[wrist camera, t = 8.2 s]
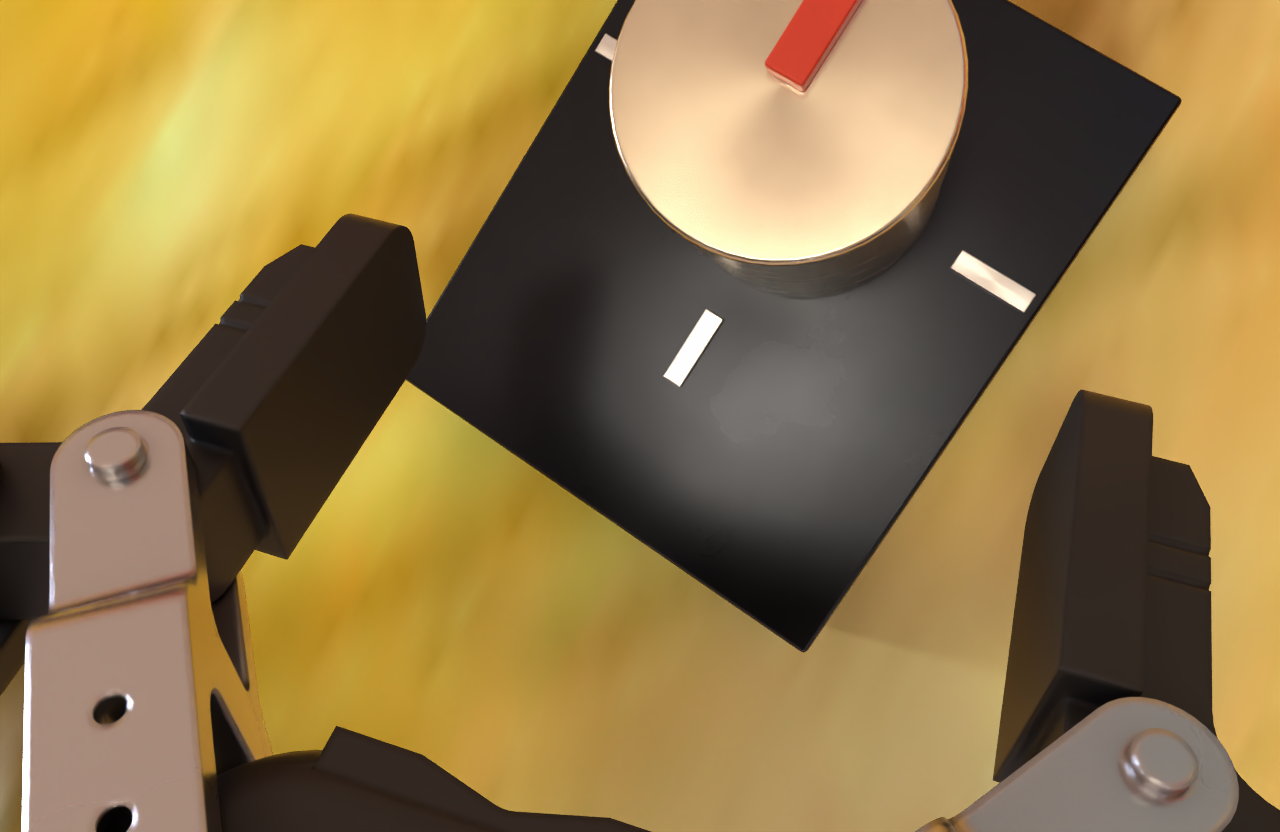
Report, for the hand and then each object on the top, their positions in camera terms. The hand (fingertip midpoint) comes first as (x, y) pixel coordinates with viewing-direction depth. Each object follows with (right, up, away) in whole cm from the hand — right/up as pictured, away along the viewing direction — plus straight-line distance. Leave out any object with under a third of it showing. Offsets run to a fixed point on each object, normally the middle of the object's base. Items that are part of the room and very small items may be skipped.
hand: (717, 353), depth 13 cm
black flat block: (+2, +2, +8) cm, 9 cm away
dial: (+2, +3, +6) cm, 7 cm away
